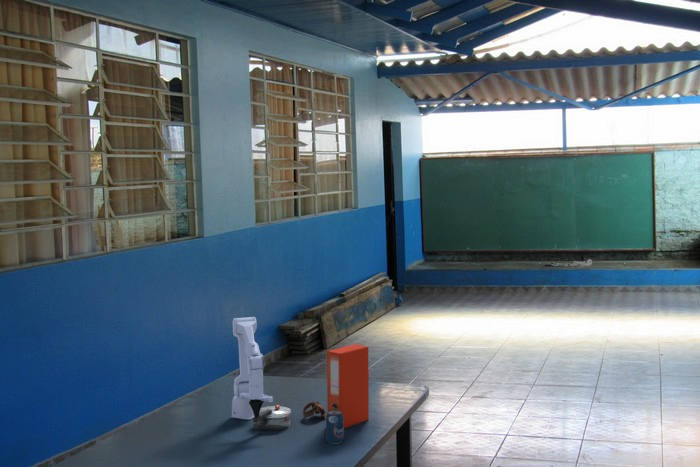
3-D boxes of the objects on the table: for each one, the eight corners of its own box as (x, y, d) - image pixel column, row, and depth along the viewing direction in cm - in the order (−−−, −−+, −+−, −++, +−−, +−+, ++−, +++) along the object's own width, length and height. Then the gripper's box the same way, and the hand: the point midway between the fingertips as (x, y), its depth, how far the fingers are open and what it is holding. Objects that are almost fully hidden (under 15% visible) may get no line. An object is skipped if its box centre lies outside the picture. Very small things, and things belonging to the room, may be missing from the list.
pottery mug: (327, 422, 359) (317, 407, 357) (308, 431, 361) (298, 416, 358) (329, 407, 370) (320, 393, 368) (310, 416, 372) (301, 401, 370)
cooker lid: (266, 406, 364) (266, 401, 364) (297, 410, 358) (297, 404, 358) (239, 421, 343) (239, 415, 343) (271, 425, 337) (271, 419, 337)
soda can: (337, 445, 328) (337, 415, 327) (323, 442, 332) (322, 413, 331) (347, 440, 334) (346, 411, 333) (332, 437, 338) (332, 408, 337)
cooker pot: (271, 416, 366) (270, 405, 366) (299, 420, 361) (299, 409, 360) (241, 433, 344) (241, 421, 344) (271, 437, 338) (270, 425, 338)
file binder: (369, 419, 360) (368, 346, 358) (341, 429, 348) (340, 353, 345) (355, 416, 366) (354, 343, 363) (327, 425, 353) (326, 350, 350)
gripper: (235, 385, 343) (236, 418, 344) (266, 389, 337) (267, 422, 338) (244, 381, 349) (245, 413, 350) (275, 384, 343) (275, 417, 344)
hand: (256, 417), depth 345 cm, fingers closed
